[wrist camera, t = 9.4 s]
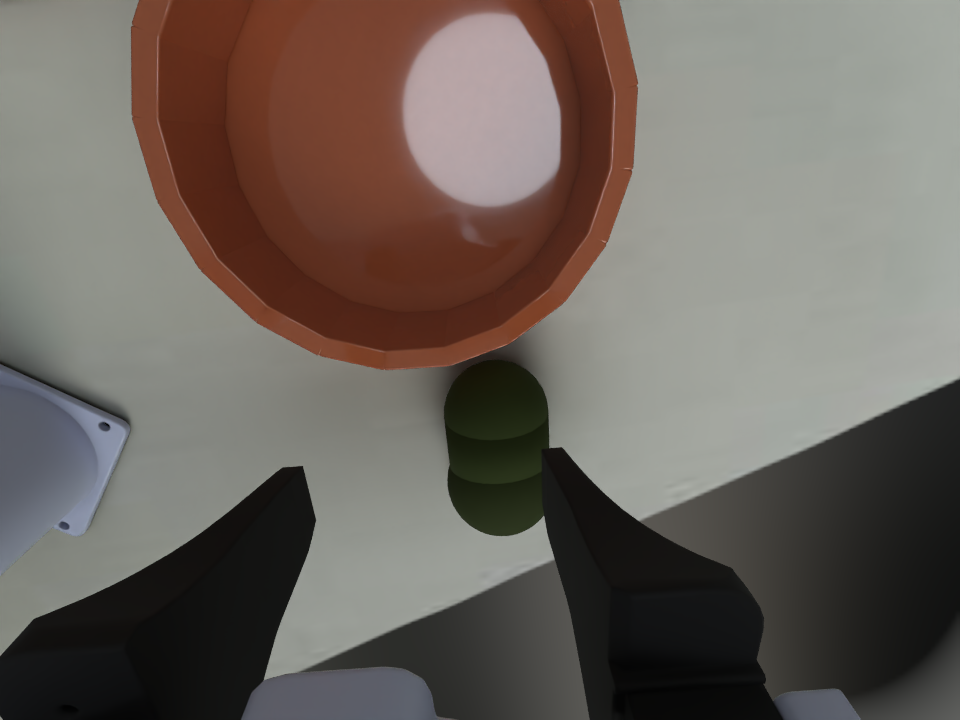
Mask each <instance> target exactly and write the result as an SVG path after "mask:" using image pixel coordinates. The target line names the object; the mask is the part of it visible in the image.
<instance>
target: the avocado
mask: <svg viewBox="0 0 960 720" xmlns="http://www.w3.org/2000/svg"><path fill="white" fill-rule="evenodd" d="M444 420H445V428H446V436H447V445H448V453H449V462H450V466H449V470H448V490H449V495H450V498H451V501H452V503H453V506H454V507H455V509H456V511H457V512H458V514H459V515H460V516H461V518H462V519H463V520H464V521H465V522H467V523H468V524H469V525H470V526H472V527H473V528H475V529H477V530H478V531H480V532H483V533H485V534H489V535H495V536H510V535H515V534H518V533H521V532H523V531H525V530H527V529H529V528H531V527H532V526H534V525H535V524H536V523H537V522H538V521H539V520H540V519H541V518H542V517H543V516H544V510H543V504H542V459H541V449H547V448H549V419H548V405H547V399H546V396H545V393H544V391H543V388H542V387H541V385H540V384H539V382H538V381H537V379H536V378H535V377H534V376H533V375H532V374H531V373H530V372H529V371H527V370H526V369H524V368H523V367H521V366H519V365H517V364H515V363H512V362H508V361H503V360H488V361H483V362H480V363H478V364H475V365H473V366H471V367H469V368H467V369H466V370H465V371H464V372H462V373H461V374H460V375H459V376H458V377H457V378H456V380H455V381H454V382H453V384H452V385H451V387H450V389H449V391H448V393H447V397H446V401H445V406H444Z"/></svg>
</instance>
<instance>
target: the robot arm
mask: <svg viewBox="0 0 960 720" xmlns="http://www.w3.org/2000/svg"><path fill="white" fill-rule="evenodd" d="M104 422H106V423H108V424H109V426H110V427H109V426H107V425H105V423H104ZM129 433H130V427H129V425H128V424H127V422H125V421H124V420H122V419H120V418H118V417H115V416H113V415H111V414H109V413H107V412H104V411H102V410H100V409H98V408H96V407H93V406H91V405H89V404H87V403H85V402H82V401H80V400H78V399H76V398H74V397H71V396H69V395H67V394H65V393H63V392H60V391H58V390H56V389H54V388H52V387H49V386H47V385H45V384H43V383H41V382H38V381H36V380H34V379H32V378H30V377H27V376H25V375H23V374H21V373H19V372H16V371H14V370H12V369H10V368H8V367H5V366H3V365H1V364H0V575H2V574H3V573H4V572H5V571H6V570H7V569H8V568H9V567H10V566H11V565H12V564H13V563H15V562H16V561H17V560H18V559H19V558H20V557H21V556H22V555H23V554H24V553H25V552H26V551H28V550H29V549H30V548H31V547H32V546H33V545H34V544H35V543H36V542H37V541H38V540H39V539H40V538H42V537H43V536H44V535H45V534H46V533H47V532H48V531H49V530H50V529H51V528H54V529H57V530H59V531H62V532H64V533H67V534H69V535H72V536H81V535H83V534H84V533H85V532H86V531H87V529H88V528H89V526H90V523H91V521H92V519H93V516H94V514H95V512H96V509H97V507H98V505H99V502H100V500H101V498H102V495H103V493H104V491H105V488H106V486H107V484H108V482H109V479H110V477H111V475H112V472H113V470H114V468H115V465H116V463H117V461H118V458H119V456H120V454H121V451H122V449H123V447H124V444H125V442H126V440H127V437H128V435H129ZM541 459H542V504H543V510H544V517H545V522H546V528H547V534H548V537H549V541H550V544H551V548H552V551H553V554H554V558H555V561H556V564H557V568H558V571H559V575H560V578H561V581H562V585H563V588H564V591H565V595H566V598H567V602H568V606H569V609H570V614H571V619H572V624H573V629H574V635H575V640H576V645H577V650H578V656H579V661H580V667H581V672H582V678H583V683H584V689H585V694H586V700H587V706H588V712H589V718H590V720H861V719H860V717H859V716H858V715H857V713H856V712H855V710H854V709H853V707H852V706H851V704H850V703H849V702H848V700H847V699H846V697H845V696H844V694H843V693H842V692H841V691H840V690H838V689H823V690H809V691H796V692H788V693H783V694H781V695H780V696H778V697H776V698H775V699H774V701H772V699H771V697H770V696H769V694H768V692H767V690H766V689H765V686H764V685H763V684H764V683H765V681H766V678H765V674H764V673H763V670H762V669H761V667H760V665H759V664H758V662H757V655H758V651H759V647H760V642H761V638H762V633H763V628H764V617H763V614H762V612H761V609H760V607H759V605H758V603H757V602H756V600H755V599H754V597H753V596H752V594H751V593H750V591H749V590H748V588H747V587H746V586H745V584H744V583H743V582H742V581H741V579H740V578H739V577H738V576H737V575H736V573H735V572H734V571H733V569H732V568H730V567H728V566H725V565H723V564H720V563H718V562H715V561H713V560H710V559H708V558H705V557H703V556H701V555H698V554H696V553H694V552H692V551H690V550H688V549H686V548H683V547H682V546H680V545H678V544H676V543H674V542H672V541H670V540H668V539H666V538H665V537H663V536H661V535H660V534H658V533H656V532H655V531H653V530H651V529H650V528H648V527H647V526H645V525H644V524H642V523H641V522H639V521H638V520H636V519H635V518H634V517H632V516H631V515H629V514H628V513H627V512H625V511H624V510H623V509H621V508H620V507H619V506H618V505H617V504H616V503H614V502H613V501H612V500H611V499H610V498H609V497H608V496H607V495H605V494H604V493H603V492H602V491H601V490H600V489H599V488H598V487H597V486H596V485H595V484H594V483H593V482H592V481H591V480H590V479H589V478H588V477H587V476H586V475H585V473H584V472H583V471H582V470H581V469H580V468H579V467H578V466H577V464H576V463H575V462H574V461H573V460H572V459H571V457H570V456H569V455H568V454H567V452H566V451H565V450H564V449H563V448H562V447H561V448H547V449H541ZM315 523H316V518H315V514H314V510H313V506H312V502H311V498H310V493H309V489H308V485H307V481H306V477H305V473H304V469H303V466H297V467H283V468H281V469H280V470H279V471H277V472H276V473H275V474H274V475H272V476H271V477H270V478H269V479H268V480H266V481H265V482H264V483H263V484H262V485H260V486H259V487H258V488H257V489H256V490H255V491H253V492H252V493H251V494H250V495H249V496H247V497H246V498H245V499H244V500H243V501H241V502H240V503H239V504H238V505H237V506H235V507H234V508H233V509H232V510H230V511H229V512H228V513H227V514H225V515H224V516H223V517H221V518H220V519H219V520H217V521H216V522H215V523H214V524H212V525H211V526H210V527H208V528H207V529H206V530H204V531H203V532H202V533H200V534H199V535H197V536H196V537H194V538H193V539H192V540H190V541H189V542H187V543H186V544H184V545H182V546H181V547H179V548H178V549H176V550H175V551H173V552H172V553H170V554H168V555H167V556H165V557H163V558H162V559H160V560H158V561H156V562H155V563H153V564H151V565H149V566H147V567H146V568H144V569H142V570H140V571H139V572H137V573H135V574H133V575H131V576H130V577H128V578H126V579H124V580H122V581H120V582H118V583H116V584H114V585H112V586H110V587H108V588H105V589H103V590H101V591H99V592H97V593H95V594H93V595H91V596H88V597H86V598H84V599H82V600H79V601H77V602H74V603H72V604H70V605H67V606H65V607H62V608H60V609H57V610H55V611H53V612H50V613H48V614H45V615H43V616H40V617H37V618H35V619H33V621H32V622H31V623H30V624H29V625H28V626H27V627H26V628H25V629H24V631H23V632H22V633H21V634H20V635H19V636H18V637H17V638H16V639H15V641H14V642H13V643H12V644H11V645H10V646H9V647H8V648H7V649H6V650H5V652H4V653H3V654H2V655H1V656H0V716H1V717H2V719H3V720H454V719H448V718H442V717H437V716H436V713H435V711H434V705H433V699H432V694H431V692H430V690H429V688H428V687H427V685H426V683H425V682H424V680H423V679H422V678H420V677H418V676H417V675H415V674H412V673H411V672H409V671H407V670H405V669H400V668H391V667H373V668H360V669H346V670H332V671H318V672H305V673H291V674H284V675H281V676H277V677H273V678H270V679H267V680H264V676H265V673H266V669H267V665H268V662H269V658H270V655H271V651H272V648H273V644H274V640H275V637H276V634H277V631H278V628H279V625H280V622H281V620H282V617H283V615H284V612H285V610H286V607H287V605H288V602H289V600H290V597H291V595H292V592H293V590H294V587H295V585H296V582H297V580H298V577H299V575H300V572H301V569H302V567H303V564H304V562H305V559H306V557H307V554H308V551H309V547H310V544H311V540H312V536H313V531H314V527H315ZM263 680H264V681H263Z"/></svg>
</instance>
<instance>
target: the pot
mask: <svg viewBox="0 0 960 720" xmlns="http://www.w3.org/2000/svg"><path fill="white" fill-rule="evenodd" d="M132 25H133V26H132V27H131V81H132V116H133V117H132V120H133V123H134V127H135V130H136V133H137V137H138V140H139V143H140V146H141V150H142V153H143V156H144V160H145V163H146V166H147V170H148V173H149V176H150V180H151V183H152V186H153V190H154V193H155V196H156V199H157V200H158V204H159V205H160V207H161V208H162V210H163V212H164V213H165V215H166V216H167V218H168V220H169V221H170V223H171V224H172V226H173V228H174V229H175V231H176V232H177V234H178V236H179V237H180V239H181V240H182V242H183V244H184V245H185V247H186V248H187V250H188V252H189V253H190V255H191V256H192V258H193V260H194V261H195V263H196V264H197V266H198V268H199V269H200V270H201V271H202V272H203V273H204V274H205V275H206V276H207V277H208V278H209V279H210V280H211V281H212V282H213V283H214V284H216V285H217V286H218V287H219V288H220V289H221V290H222V291H223V292H224V293H225V294H226V295H227V296H228V297H229V298H230V299H232V300H233V301H234V302H235V303H236V304H237V305H238V306H239V307H240V308H241V309H242V310H243V311H244V312H245V313H246V314H248V315H249V316H250V317H251V318H252V319H253V320H254V321H255V322H256V321H257V322H256V323H258V324H260V325H261V326H263V327H265V328H267V329H269V330H271V331H273V332H275V333H277V334H278V335H280V336H282V337H284V338H286V339H288V340H290V341H292V342H293V343H295V344H297V345H299V346H301V347H303V348H305V349H307V350H308V351H310V352H312V353H314V354H316V355H320V356H322V357H327V358H331V359H336V360H340V361H345V362H349V363H354V364H358V365H363V366H367V367H372V368H376V369H381V370H384V369H385V370H397V369H413V368H428V367H444V366H449V365H450V366H452V365H454V364H457V363H460V362H463V361H465V360H468V359H471V358H473V357H476V356H479V355H481V354H484V353H487V352H489V351H492V350H495V349H498V348H500V347H503V346H506V345H508V344H510V342H513V341H515V340H516V339H517V338H518V337H520V336H521V335H522V334H524V333H525V332H526V331H528V330H529V329H530V328H532V327H533V326H534V325H536V324H537V323H538V322H540V321H541V320H542V319H543V318H545V317H546V316H547V315H549V314H550V313H551V312H553V311H554V310H555V309H557V308H558V307H559V306H561V305H562V304H563V303H564V302H565V301H566V300H567V299H568V297H569V296H570V295H571V293H572V292H573V290H574V289H575V288H576V286H577V285H578V284H579V282H580V281H581V279H582V278H583V277H584V275H585V274H586V273H587V271H588V270H589V268H590V267H591V266H592V264H593V263H594V262H595V260H596V259H597V257H598V256H599V255H600V253H601V252H602V251H603V249H604V248H605V246H606V243H607V242H608V240H609V237H610V234H611V231H612V228H613V226H614V223H615V220H616V217H617V214H618V211H619V209H620V206H621V203H622V200H623V197H624V195H625V192H626V189H627V186H628V183H629V180H630V178H631V175H632V169H633V164H634V147H635V129H636V112H637V95H638V87H637V86H636V85H637V84H638V80H637V76H636V72H635V67H634V63H633V59H632V54H631V50H630V46H629V41H628V37H627V33H626V28H625V24H624V20H623V15H622V11H621V7H620V2H619V0H139V2H138V5H137V9H136V12H135V15H134V18H133V21H132Z"/></svg>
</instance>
